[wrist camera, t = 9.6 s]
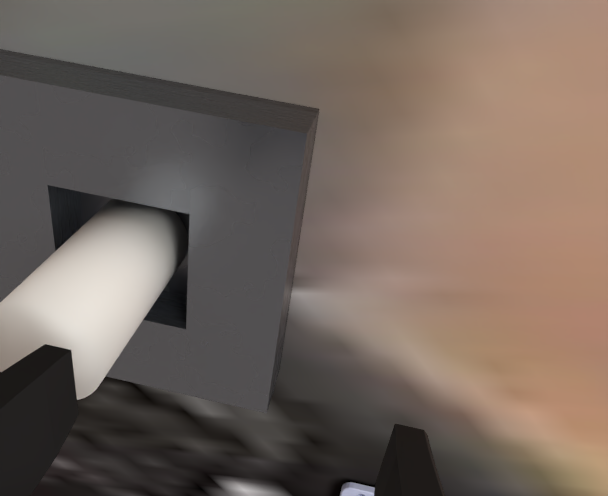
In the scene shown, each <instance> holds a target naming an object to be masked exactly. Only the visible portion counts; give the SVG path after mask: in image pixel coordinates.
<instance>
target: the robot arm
mask: <svg viewBox="0 0 608 496" xmlns="http://www.w3.org/2000/svg"><path fill="white" fill-rule="evenodd" d="M77 416H78V405H77V396H76V387H75V378H74V370H73V361H72V352H71V350H69V349H65V348H61V347H56V346H52V345H47V344H45V345H43V346H41V347H40V348H38V349H37V350H35V351H33V352H32V353H30V354H29V355H27V356H26V357H24V358H23V359H21V360H19V361H18V362H16V363H15V364H13V365H12V366H10V367H9V368H7V369H6V370H4V371H3V372H1V373H0V496H30V495H31V493H32V492H33V491H34V489H35V488H36V486H37V485H38V483H39V482H40V480H41V479H42V477H43V476H44V474H45V473H46V471H47V470H48V468H49V467H50V465H51V464H52V462H53V461H54V459H55V458H56V456H57V454H58V453H59V451H60V449H61V447H62V445H63V443H64V442H65V440H66V438H67V436H68V434H69V432H70V430H71V428H72V426H73V424H74V422H75V420H76V418H77ZM339 496H445V494H444V491H443V488H442V485H441V482H440V478H439V475H438V472H437V469H436V465H435V462H434V459H433V455H432V451H431V447H430V444H429V439H428V435H427V434H426V432H425V431H424V430H421V429H417V428H412V427H408V426H403V425H399V424H395V425H394V428H393V431H392V434H391V437H390V440H389V444H388V447H387V450H386V453H385V456H384V459H383V462H382V465H381V468H380V471H379V474H378V477H377V480H376V483H375V487H371V486H366V485H362V484H358V483H354V482H348V483H345V484H343V486H342V488H341V492H340V495H339Z"/></svg>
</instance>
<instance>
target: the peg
mask: <svg viewBox="0 0 608 496" xmlns="http://www.w3.org/2000/svg"><path fill="white" fill-rule="evenodd" d="M187 250H188V235H187V232H186V228H185V226H184V224H183V222H182V221H181V219H180V217H179V216H178V215H177V214H176V212H175V211H172V210H167V209H162V208H157V207H152V206H147V205H143V204H138V203H133V202H128V201H123V200H118V199H111V200H110V201H109V202H108V203H107V204H106V205H104V206H103V207H102V208H101V209H100V210H99V211H98V212H97V213H96V214H95V215H94V216H93V217H92V218H91V219H89V220H88V221H87V222H86V223H85V224H84V225H83V226H82V227H81V228H80V229H79V230H78V231H77V232H76V233H74V234H73V235H72V236H71V237H70V238H69V239H68V240H67V241H66V242H65V243H64V244H63V245H62V246H60V247H59V248H58V249H57V250H56V251H55V252H54V253H53V254H52V255H51V256H50V257H49V258H48V259H47V260H45V261H44V262H43V263H42V264H41V265H40V266H39V267H38V268H37V269H36V270H35V271H34V272H33V273H32V274H30V275H29V276H28V277H27V278H26V279H25V280H24V281H23V282H22V283H21V284H20V285H19V286H18V287H17V288H15V289H14V290H13V291H12V292H11V293H10V294H9V295H8V296H7V297H6V298H5V299H4V300H3V301H1V302H0V372H3V371H4V370H6V369H7V368H9V367H10V366H12V365H13V364H15V363H16V362H18V361H19V360H21V359H23V358H24V357H26V356H27V355H29V354H30V353H32V352H33V351H35V350H37V349H38V348H40V347H41V346H43V345H45V344H47V345H52V346H56V347H61V348H65V349H69V350H71V352H72V361H73V370H74V378H75V387H76V396H77V400H79V399H82V398H85V397H87V396H89V395H90V394H92V393H93V392H94V391H95V390H96V389H97V388H98V386H99V385H100V383H101V382H102V380H103V379H104V377H105V376H106V374H107V373H108V371H109V370H110V368H111V367H112V365H113V364H114V362H115V361H116V359H117V358H118V357H119V355H120V354H121V352H122V351H123V349H124V348H125V346H126V345H127V343H128V342H129V340H130V339H131V337H132V336H133V334H134V333H135V331H136V330H137V328H138V327H139V325H140V324H141V322H142V321H143V319H144V318H145V316H146V315H147V313H148V312H149V310H150V309H151V307H152V306H153V304H154V303H155V301H156V300H157V298H158V297H159V295H160V294H161V293H162V291H163V290H164V288H165V287H166V285H167V284H168V282H169V281H170V279H171V278H172V276H173V275H174V273H175V272H176V270H177V269H178V267H179V266H180V264H181V263H182V261H183V260H184V258H185V256H186V254H187Z"/></svg>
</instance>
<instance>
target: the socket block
mask: <svg viewBox="0 0 608 496" xmlns="http://www.w3.org/2000/svg"><path fill="white" fill-rule="evenodd" d="M318 115H319V109H316V108H311V107H305V106H300V105H295V104H289V103H284V102H279V101H273V100H268V99H263V98H257V97H252V96H247V95H241V94H236V93H231V92H225V91H220V90H215V89H209V88H204V87H199V86H193V85H188V84H183V83H177V82H172V81H166V80H161V79H156V78H150V77H145V76H140V75H134V74H129V73H124V72H118V71H113V70H108V69H102V68H97V67H92V66H86V65H81V64H76V63H70V62H65V61H60V60H54V59H49V58H44V57H38V56H33V55H28V54H22V53H17V52H12V51H6V50H1V49H0V302H1V301H3V300H4V299H5V298H6V297H7V296H8V295H9V294H10V293H11V292H12V291H13V290H14V289H15V288H17V287H18V286H19V285H20V284H21V283H22V282H23V281H24V280H25V279H26V278H27V277H28V276H29V275H30V274H32V273H33V272H34V271H35V270H36V269H37V268H38V267H39V266H40V265H41V264H42V263H43V262H44V261H45V260H47V259H48V258H49V257H50V256H51V255H52V254H53V253H54V252H55V251H56V250H57V249H58V248H59V247H60V246H62V245H63V244H64V243H65V242H66V241H67V240H68V239H69V238H70V237H71V236H72V235H73V234H74V233H76V232H77V231H78V230H79V229H80V228H81V227H82V226H83V225H84V224H85V223H86V222H87V221H88V220H89V219H91V218H92V217H93V216H94V215H95V214H96V213H97V212H98V211H99V210H100V209H101V208H102V207H103V206H104V205H106V204H107V203H108V202H109V201H110V200H111V199H118V200H123V201H128V202H133V203H138V204H143V205H147V206H152V207H157V208H162V209H167V210H172V211H175V212H176V214H177V215H178V216H179V217H180V219H181V221H182V222H183V224H184V226H185V228H186V232H187V235H188V250H187V254H186V256H185V258H184V260H183V261H182V263H181V264H180V266H179V267H178V269H177V270H176V272H175V273H174V275H173V276H172V278H171V279H170V281H169V282H168V284H167V285H166V287H165V288H164V290H163V291H162V293H161V294H160V295H159V297H158V298H157V300H156V301H155V303H154V304H153V306H152V307H151V309H150V310H149V312H148V313H147V315H146V316H145V318H144V319H143V321H142V322H141V324H140V325H139V327H138V328H137V330H136V331H135V333H134V334H133V336H132V337H131V339H130V340H129V342H128V343H127V345H126V346H125V348H124V349H123V351H122V352H121V354H120V355H119V357H118V358H117V359H116V361H115V362H114V364H113V365H112V367H111V368H110V370H109V371H108V373H107V374H106V376H107V377H111V378H116V379H120V380H124V381H129V382H133V383H137V384H142V385H146V386H150V387H155V388H159V389H163V390H168V391H172V392H176V393H181V394H185V395H189V396H194V397H198V398H202V399H207V400H211V401H216V402H220V403H224V404H229V405H233V406H237V407H242V408H246V409H250V410H255V411H259V412H263V413H267V410H268V407H269V404H270V400H271V397H272V394H273V390H274V387H275V384H276V380H277V377H278V373H279V369H280V363H281V356H282V350H283V343H284V337H285V330H286V324H287V317H288V311H289V304H290V297H291V291H292V284H293V278H294V271H295V265H296V258H297V252H298V245H299V239H300V232H301V226H302V219H303V213H304V206H305V200H306V193H307V186H308V180H309V173H310V167H311V160H312V154H313V147H314V141H315V134H316V128H317V121H318Z"/></svg>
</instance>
